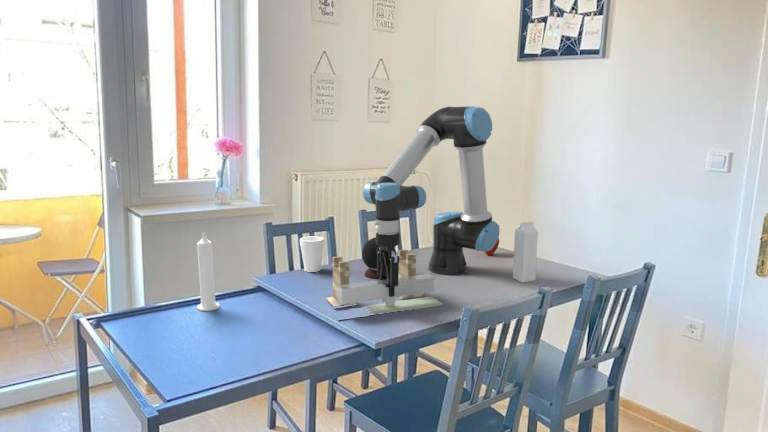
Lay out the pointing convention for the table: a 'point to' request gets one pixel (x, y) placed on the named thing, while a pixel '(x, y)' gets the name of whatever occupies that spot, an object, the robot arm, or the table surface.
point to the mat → (405, 305)
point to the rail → (384, 289)
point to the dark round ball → (370, 258)
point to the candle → (206, 275)
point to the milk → (525, 252)
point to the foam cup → (312, 252)
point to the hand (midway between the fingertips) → (387, 303)
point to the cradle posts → (342, 274)
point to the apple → (493, 248)
